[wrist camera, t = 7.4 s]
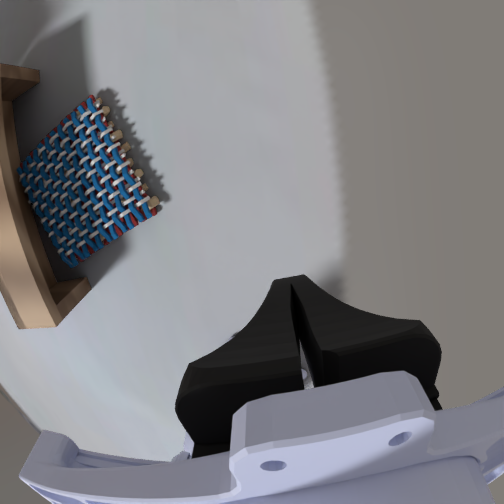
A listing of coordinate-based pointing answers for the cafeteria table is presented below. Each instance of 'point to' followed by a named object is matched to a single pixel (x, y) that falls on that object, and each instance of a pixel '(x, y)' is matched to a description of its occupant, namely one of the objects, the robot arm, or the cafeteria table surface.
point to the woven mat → (85, 184)
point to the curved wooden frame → (26, 228)
